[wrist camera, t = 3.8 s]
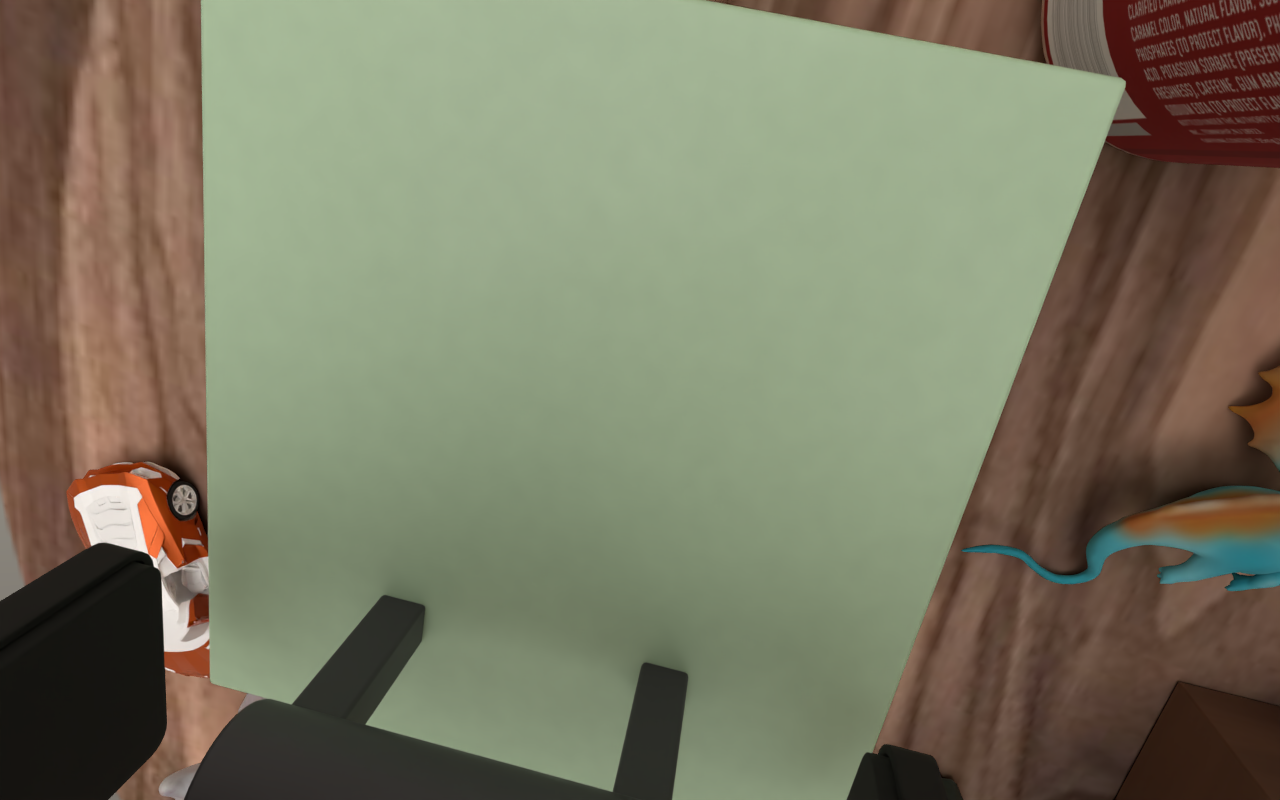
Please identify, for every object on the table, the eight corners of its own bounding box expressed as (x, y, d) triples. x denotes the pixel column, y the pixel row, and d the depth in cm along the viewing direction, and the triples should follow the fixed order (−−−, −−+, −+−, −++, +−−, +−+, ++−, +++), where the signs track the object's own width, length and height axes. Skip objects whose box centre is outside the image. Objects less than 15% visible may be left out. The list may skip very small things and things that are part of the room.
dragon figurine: (1158, 742, 21) (1560, 672, 15) (987, 676, 18) (1410, 560, 12) (1088, 530, 25) (1386, 415, 20) (939, 448, 22) (1241, 286, 17)
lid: (830, 812, 12) (872, 1219, 8) (238, 653, 13) (-47, 934, 9) (1099, 84, 9) (1506, 17, 4) (241, -77, 9) (-275, -292, 5)
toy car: (159, 669, 27) (85, 734, 24) (70, 462, 25) (-23, 505, 22) (289, 660, 26) (229, 726, 23) (210, 444, 24) (132, 487, 21)
